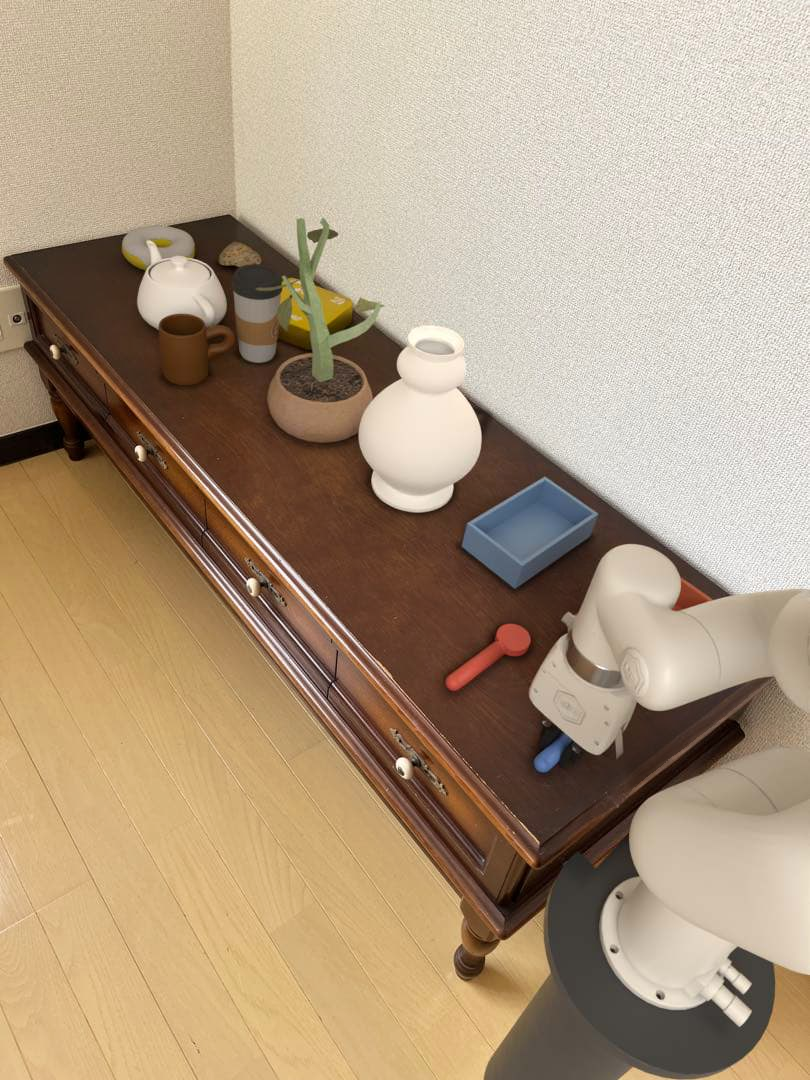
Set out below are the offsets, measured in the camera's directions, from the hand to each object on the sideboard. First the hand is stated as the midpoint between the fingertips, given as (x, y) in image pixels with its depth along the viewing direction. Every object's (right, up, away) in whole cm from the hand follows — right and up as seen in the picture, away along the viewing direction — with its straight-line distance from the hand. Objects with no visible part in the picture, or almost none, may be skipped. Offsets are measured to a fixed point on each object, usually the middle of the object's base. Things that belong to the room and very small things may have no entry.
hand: (558, 750), depth 94 cm
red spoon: (-7, +9, +9) cm, 14 cm away
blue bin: (0, +24, +25) cm, 35 cm away
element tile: (-37, +65, +61) cm, 96 cm away
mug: (-52, +52, +45) cm, 86 cm away
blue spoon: (+2, +1, +2) cm, 3 cm away
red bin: (+13, +12, +15) cm, 24 cm away
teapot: (-58, +64, +57) cm, 104 cm away
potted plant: (-33, +46, +42) cm, 71 cm away
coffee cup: (-44, +57, +52) cm, 89 cm away
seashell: (-51, +80, +75) cm, 121 cm away
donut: (-67, +80, +72) cm, 126 cm away
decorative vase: (-16, +32, +31) cm, 48 cm away
